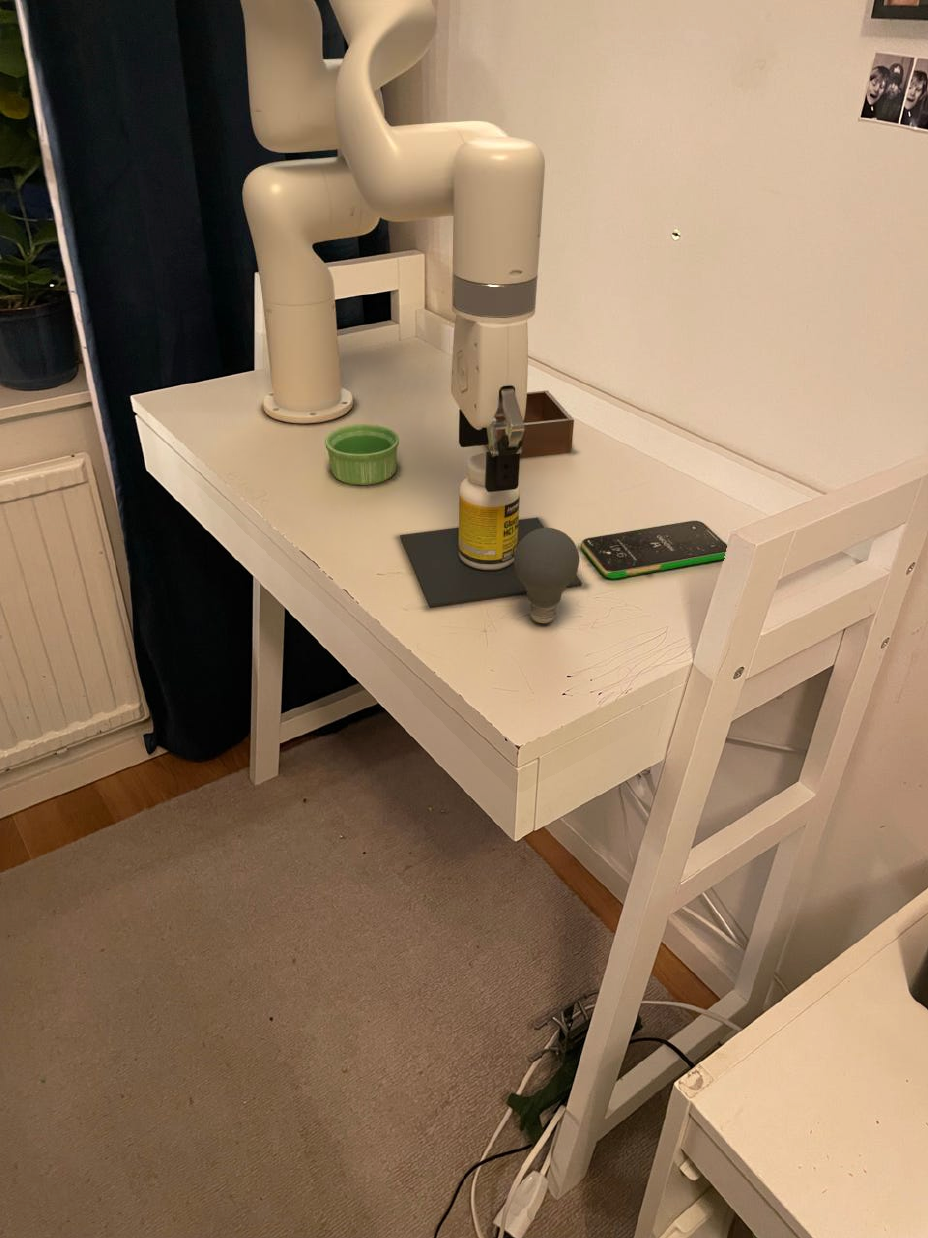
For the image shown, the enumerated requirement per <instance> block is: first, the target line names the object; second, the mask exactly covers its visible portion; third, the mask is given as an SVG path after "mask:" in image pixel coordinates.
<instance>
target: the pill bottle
mask: <svg viewBox="0 0 928 1238" xmlns="http://www.w3.org/2000/svg"><path fill="white" fill-rule="evenodd" d="M485 473H486V452H482V453H478V454H475V455H472V456H471V457H469V458H468V460H467V463H466V476H467V477H465V479H463V481H462V482H461V484H460V486H459V489H458V490H459V492H458V501H459V502H458V528H459V556H460V559H461V560H462V561H463V562H464V563H465V564H466V565H468V566H470V567H472V568H476V569H480V570H499V569H502V568H505V567H507V566H509V565H510V564H511V563H512V562H513V561H514V555H515V552H516V549H517V539H518V521H519V520H520V502H521V500H520V499H521V489H520V486H519V485H518V488H517V489H514V490H505V491H496V492H488V491H487V490H486V488H485Z"/></svg>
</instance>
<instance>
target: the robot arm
mask: <svg viewBox="0 0 928 1238" xmlns="http://www.w3.org/2000/svg"><path fill="white" fill-rule="evenodd" d="M239 1H240V5H241V10H242V14H243V22H244V32H245V50H246V66H247V68H246V69H247V83H248V97H249V98H248V99H249V110H250V111H249V112H250V118H251V125H252V129H253V133H254V135H255V138H256V139H257V141H258V143H259V144H260V145H261V146H262V148H264V149H267V150H269V151H271V152H275V153H282V154H283V153H285V154H288V153H289V154H290V153H291V154H292V153H293V154H294V153H307V152H320V151H334V150H337V156H331V157H322V158H321V157H320V158H305V159H292V160H282V161H274V162H269V163H266V164H263V165H260V166H258V167H257V168H254V169H253V170H252V171H251V172H249V174H247V176H246V178H245V180H244V183H243V185H242V191H241V192H242V195H241V196H242V205H243V209H244V213H245V217H246V220H247V224H248V227H249V231H250V235H251V239H252V243H253V247H254V253H255V257H256V262H257V269H258V276H259V283H260V292H261V293H260V294H261V299H262V308H263V309H262V310H263V318H264V326H265V334H266V342H267V343H266V344H267V353H268V362H269V368H270V369H269V371H270V379H271V388H272V390H271V391H270V392H268V393H267V394H266V395H265V396H264V397H263V399H262V407H263V411H264V412H265V414H266V415H268V416H269V417H270V418H272V419H275V420H277V421H281V422H284V423H290V424H315V423H317V424H318V423H323V422H327V421H332V420H335V419H338V418H340V417H342V416H344V415H346V414H348V413H349V411H351V409H352V408H353V405H354V396H353V394H352V393H351V392H350V390H348V389H346V388H345V387H343V386H342V382H341V368H340V354H339V353H340V351H339V340H338V339H339V337H338V324H337V311H336V309H337V308H336V298H335V297H336V295H335V284H334V278H333V275H332V272H331V270H330V269H329V267H328V266H327V264H326V263H325V262H324V261H323V260H322V259H321V257H320V256H319V255H318V254H317V252H315V250H314V248H313V245H314V244H316V243H320V242H326V241H331V240H332V241H333V240H339V239H348V238H355V237H360V236H364V235H367V234H369V233H371V232H372V231H373V230H375V229H376V227H377V226H378V224H379V221H380V219H382V220H385V221H389V222H395V223H400V222H412V221H420V220H427V219H433V218H434V219H435V218H442V217H453V218H452V219H453V221H452V222H453V223H452V224H453V226H452V232H453V233H452V279H451V280H452V284H451V286H452V287H451V288H452V289H451V292H452V293H451V311H452V313H453V314H454V315H455V319H454V329H453V340H452V342H453V343H452V357H451V358H452V360H451V375H450V376H451V377H450V391H451V395H452V397H453V400H454V401H455V403H456V404H457V406H458V407H459V410H458V411H459V412H458V413H459V414H458V445H459V446H460V447H461V448H469V447H479V446H487V444H489V447H490V450H489V451H487V452H485V453H486V473H485V488H486V490H487V491H488V492H496V491H505V490H514V489H517V488H518V486H519V485H520V484H519V483H520V468H521V458H520V454H521V452H522V443H523V441H522V440H523V437H522V436H523V433H524V429H525V426H524V421H523V420H524V416H525V409H526V398H527V392H528V375H529V370H528V369H529V368H528V367H529V354H528V353H529V338H528V337H529V334H528V333H529V332H528V320H529V319H531V318H533V316H534V315H535V314H536V307H537V293H538V290H537V289H538V278H539V277H538V276H539V260H540V247H541V233H542V217H543V216H542V215H543V204H544V203H543V201H544V190H545V189H544V187H545V174H546V173H545V172H546V161H545V155H544V152H543V150H542V148H540V146H538V144H537V143H535V142H533V141H530V140H528V139H524V138H520V137H511V136H510V135H509V134H508V133H507V132H505V131H504V130H503V129H502V128H501V127H499V126H498V125H496V124H495V123H491V122H488V121H484V120H464V121H463V120H462V121H450V122H449V121H443V122H442V121H441V122H430V123H429V122H428V123H416V124H405V125H404V124H403V125H394V126H392V125H390V124H389V123H388V121H387V120H386V118H385V107H384V99H383V93H382V90H381V87H384V85H386V84H388V83H389V82H391V81H392V80H394V79H395V78H397V77H399V76H400V75H402V74H403V73H405V72H407V71H409V70H410V69H411V68H413V66H414V65H415V64H417V63H418V62H419V61H420V60H421V59H422V58H423V57H424V56H425V55H426V53H427V52H428V51H429V49H430V47H431V46H432V43H433V42H434V39H435V37H436V33H437V29H438V15H437V11H436V8H435V5H434V2H433V0H328V2H329V4H330V6H331V9H332V11H333V15H334V16H335V18H336V20H337V23H338V25H339V28H340V30H341V33H342V34H343V36H344V39H345V41H346V43H347V46H348V49H346V51H345V54H344V57H343V58H328V59H327V58H325V59H324V56H323V21H322V16H321V12H320V10H319V6H318V5H317V2H316V1H315V0H239ZM497 416H504V419H505V420H497V421H493V418H494V417H497ZM499 429H506V430H505V432H506V435H502V436H501V438H500V439H499V441H497V434H496V430H499Z"/></svg>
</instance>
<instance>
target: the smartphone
mask: <svg viewBox="0 0 928 1238" xmlns="http://www.w3.org/2000/svg"><path fill="white" fill-rule="evenodd" d="M727 545H728V544H727V543H726V542H725V541H724V540H722V538H720V536H718V534H716V533H715V532H714V531H713V530H712V529H711V528H710V527H709V526H708V525H707V524H705V523H704V522H703V521H699V520H688V521H682V522H681V521H680V522H675V523H670V524H664V525H657V526H652V527H646V528H640V529H634V530H628V531H622V532H616V533H610V534H603V535H596V536H591V537H585V538H584V539H583V540H582V541H581V542H580V548H581V550H582V551H583V553H584V554H585V555H586V556H587V558H588V559H589V560H590V561H591V562H592V563H593V564H594V566H595V567H596V568H597V570H598V571H599V572H600V573H601V575H603V576H604V577H605V578H608V579H613V580H615V579H620V578H627V577H633V576H638V575H642V574H648V573H655V572H659V571H660V572H661V571H665V570H672V569H676V568H682V567H687V566H692V565H699V564H703V563H708V562H713V561H719V560H725V559H724V556H725V552H726V548H727Z"/></svg>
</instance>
